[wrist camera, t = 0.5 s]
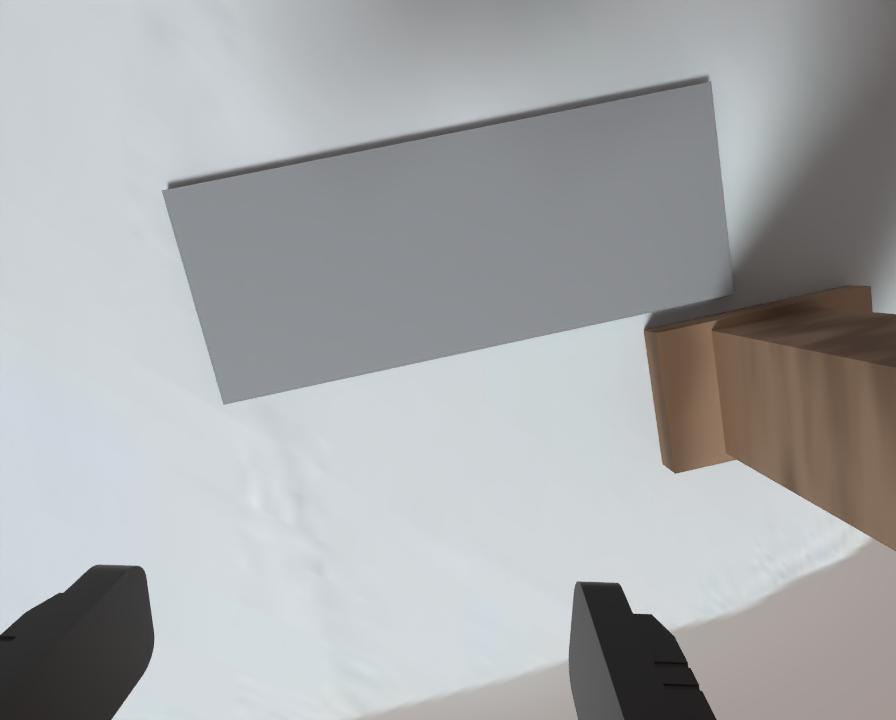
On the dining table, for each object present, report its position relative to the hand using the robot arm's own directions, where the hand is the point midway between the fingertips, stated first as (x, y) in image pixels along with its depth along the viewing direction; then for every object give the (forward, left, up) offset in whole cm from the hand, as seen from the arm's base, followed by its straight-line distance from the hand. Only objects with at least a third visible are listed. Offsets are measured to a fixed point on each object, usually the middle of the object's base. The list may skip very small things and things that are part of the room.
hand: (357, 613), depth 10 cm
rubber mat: (-8, +1, -20) cm, 22 cm away
